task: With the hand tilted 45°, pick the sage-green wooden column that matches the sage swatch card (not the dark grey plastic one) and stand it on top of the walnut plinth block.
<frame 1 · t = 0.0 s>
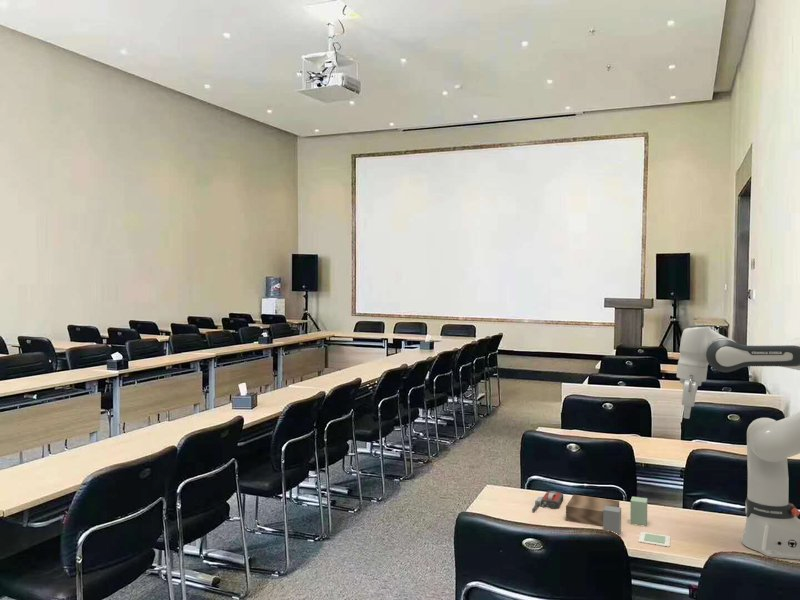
hand: (686, 415, 206), 39 cm above the table, tool pointing down, fingers open, 8 cm apart
grey block: (612, 533, 207), on the table
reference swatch: (654, 539, 202), on the table
walkie-talkie: (548, 507, 234), on the table
sage block: (638, 522, 217), on the table
walnut plinth: (592, 517, 221), on the table
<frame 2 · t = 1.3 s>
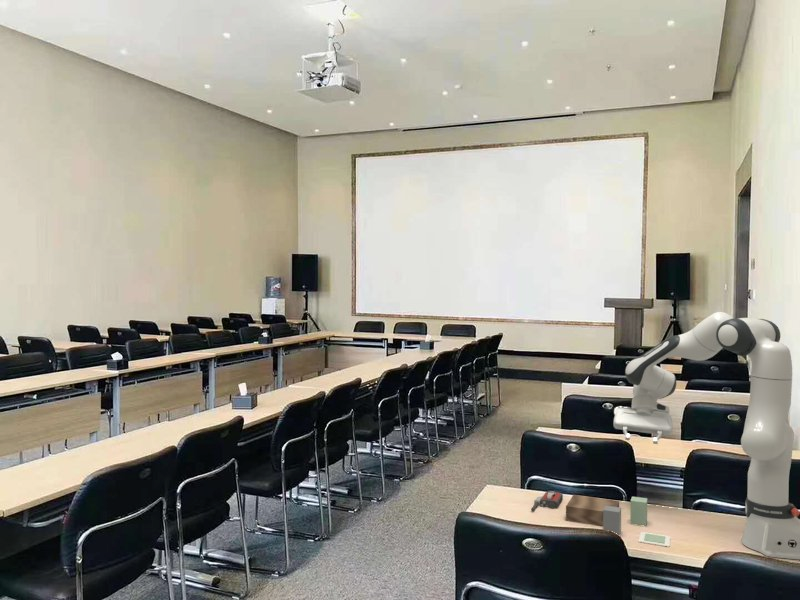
hand: (641, 441, 227), 26 cm above the table, tool tilted 45°, fingers open, 8 cm apart
nothing on the table moved.
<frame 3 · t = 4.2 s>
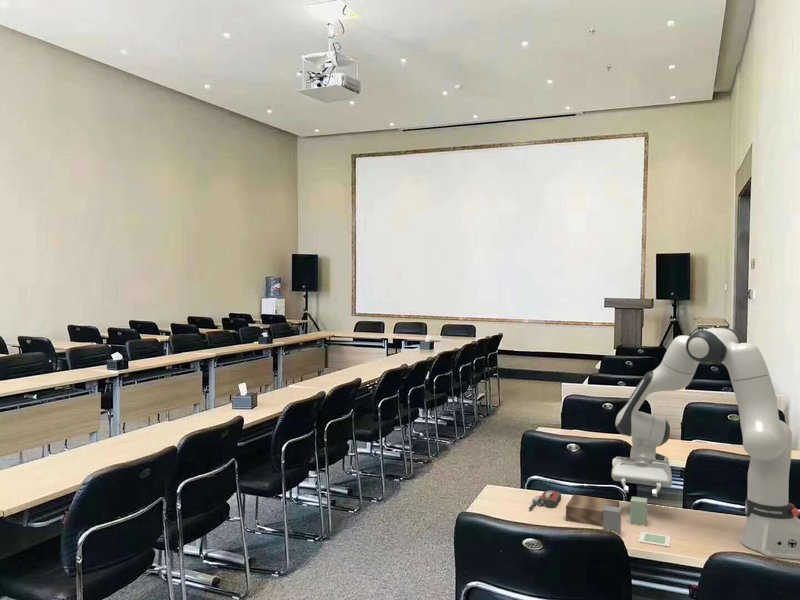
hand: (640, 493, 221), 9 cm above the table, tool tilted 45°, fingers open, 8 cm apart
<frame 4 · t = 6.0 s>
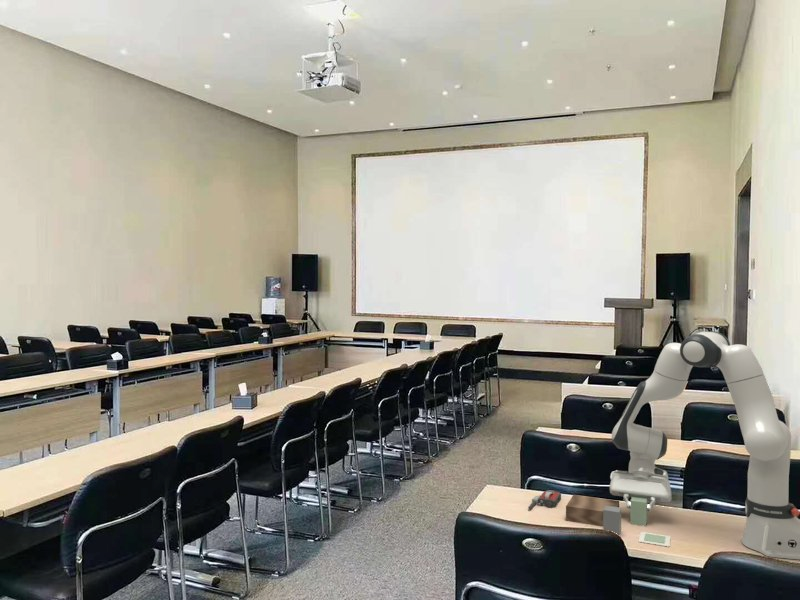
hand: (638, 508, 216), 5 cm above the table, tool tilted 45°, fingers closed on sage block, 5 cm apart
sage block: (638, 522, 217), on the table, touching gripper
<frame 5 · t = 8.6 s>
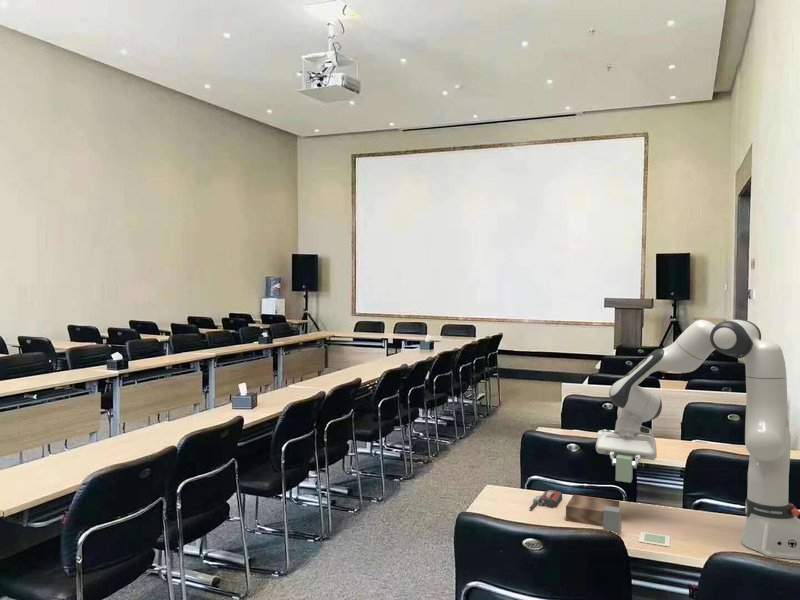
hand: (623, 466, 218), 19 cm above the table, tool tilted 45°, fingers closed on sage block, 5 cm apart
sage block: (623, 479, 219), point 14 cm above the table, touching gripper
when the fingers open (11 cm above the table, at t = 11.0 s): sage block drops 1 cm, resting on walnut plinth.
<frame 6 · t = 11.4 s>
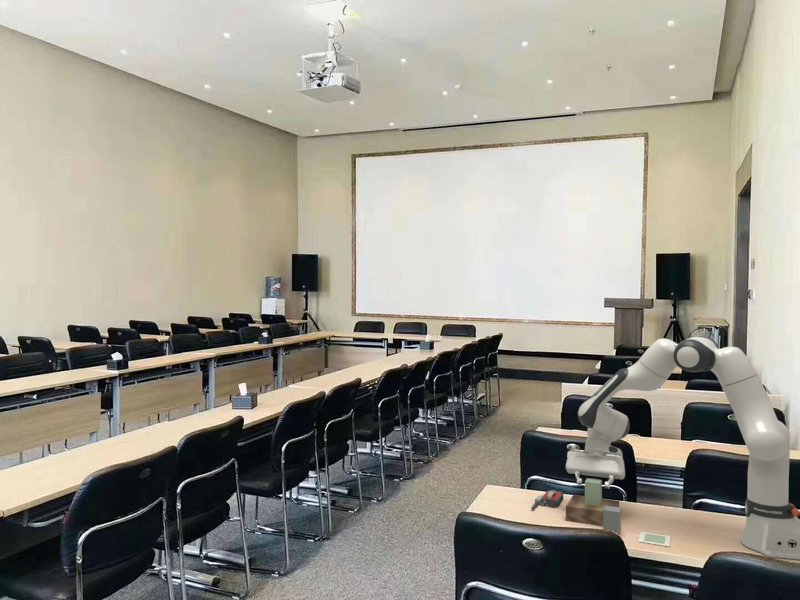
hand: (592, 485, 221), 11 cm above the table, tool tilted 45°, fingers open, 8 cm apart
sage block: (593, 503, 221), point 5 cm above the table, touching walnut plinth
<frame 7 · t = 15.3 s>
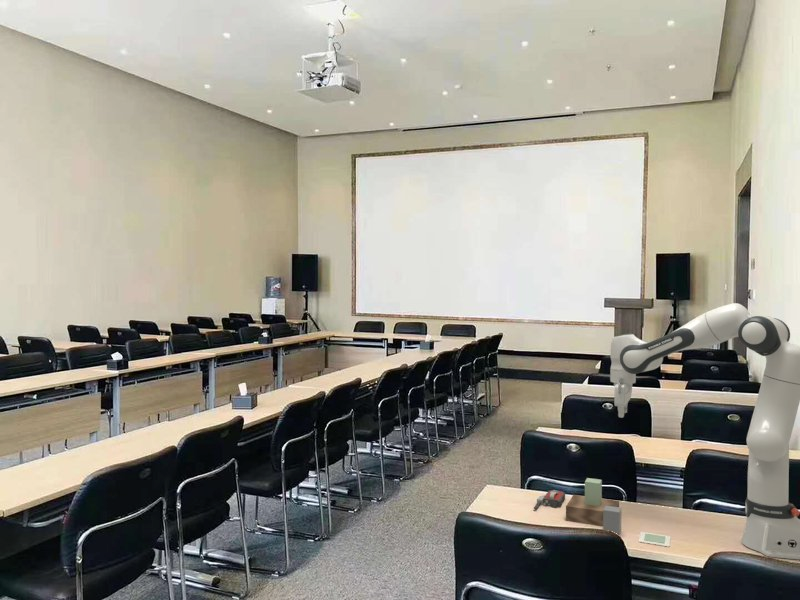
hand: (622, 415, 232), 34 cm above the table, tool pointing down, fingers open, 8 cm apart
at the end: sage block inside the target area on the walnut plinth (0.1 cm from its centre), point 5.0 cm above the walnut plinth's base; sage block tilted 0°; grey block moved 0.1 cm from its start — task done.
